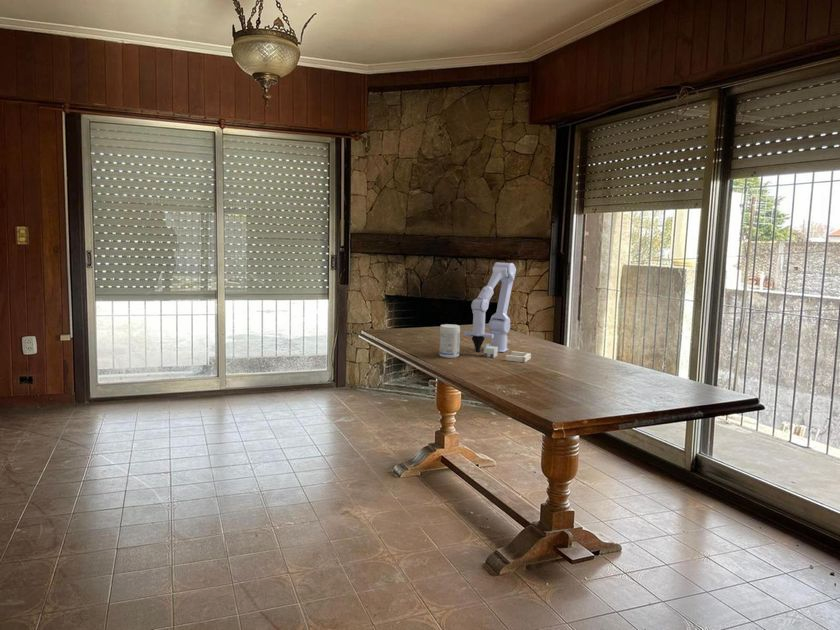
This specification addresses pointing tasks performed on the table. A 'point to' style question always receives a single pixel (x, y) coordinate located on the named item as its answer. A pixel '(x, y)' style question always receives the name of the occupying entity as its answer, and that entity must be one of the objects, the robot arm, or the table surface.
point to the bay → (518, 356)
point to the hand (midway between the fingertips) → (477, 351)
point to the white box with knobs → (490, 351)
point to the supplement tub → (449, 341)
